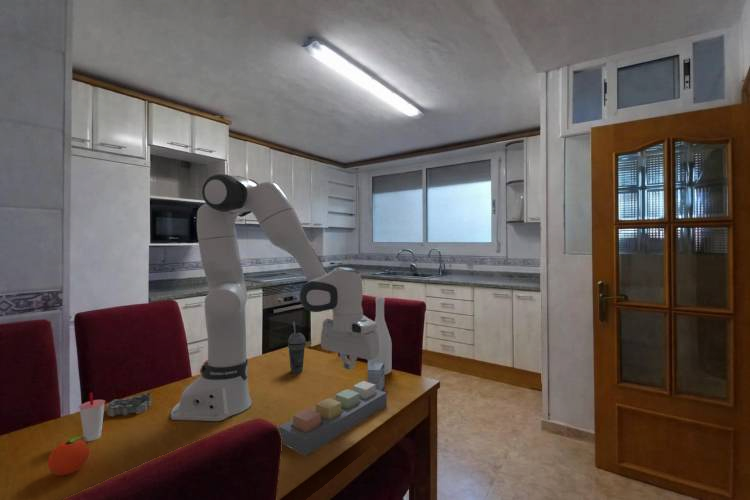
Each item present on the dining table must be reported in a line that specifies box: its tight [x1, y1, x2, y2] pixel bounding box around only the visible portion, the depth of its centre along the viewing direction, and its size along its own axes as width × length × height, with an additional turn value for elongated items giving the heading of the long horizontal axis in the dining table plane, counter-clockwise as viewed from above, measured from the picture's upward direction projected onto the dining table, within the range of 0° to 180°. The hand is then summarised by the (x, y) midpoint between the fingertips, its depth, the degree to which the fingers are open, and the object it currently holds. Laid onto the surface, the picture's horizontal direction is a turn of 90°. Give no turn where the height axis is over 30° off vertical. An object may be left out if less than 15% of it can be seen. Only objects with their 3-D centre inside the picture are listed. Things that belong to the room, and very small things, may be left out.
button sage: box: [335, 388, 359, 409], centre depth 104 cm, size 5×5×4 cm
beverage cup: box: [287, 321, 307, 374], centre depth 141 cm, size 7×7×20 cm
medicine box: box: [367, 363, 385, 392], centre depth 123 cm, size 8×4×9 cm, turn 168°
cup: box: [78, 392, 106, 442], centre depth 92 cm, size 5×5×12 cm
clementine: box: [47, 436, 90, 476], centre depth 79 cm, size 8×7×7 cm
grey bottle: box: [367, 296, 393, 376], centre depth 141 cm, size 10×10×30 cm
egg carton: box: [105, 391, 153, 417], centre depth 108 cm, size 11×8×4 cm
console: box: [278, 389, 388, 457], centre depth 101 cm, size 34×10×4 cm, turn 143°
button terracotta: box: [292, 407, 321, 433], centre depth 91 cm, size 5×5×4 cm
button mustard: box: [315, 397, 341, 420], centre depth 98 cm, size 5×5×4 cm
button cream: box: [352, 380, 376, 399], centre depth 111 cm, size 5×5×4 cm
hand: (348, 368), depth 104 cm, fingers closed
